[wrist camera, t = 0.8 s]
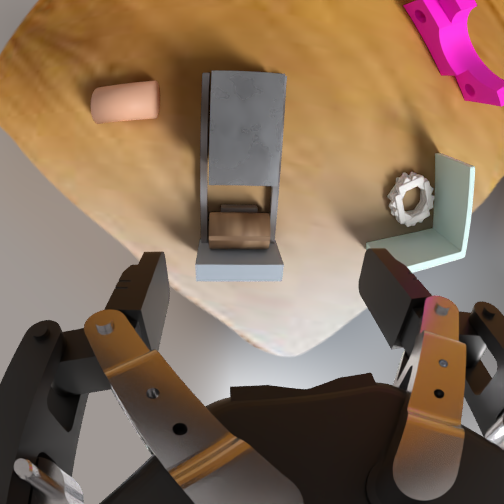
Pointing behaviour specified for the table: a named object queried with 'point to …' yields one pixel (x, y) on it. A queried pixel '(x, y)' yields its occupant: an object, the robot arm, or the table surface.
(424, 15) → the magenta curved bracket
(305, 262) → the table surface
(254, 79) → the slab
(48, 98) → the table surface
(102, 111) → the roller
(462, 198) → the l-shaped corner panel
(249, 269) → the stop gate
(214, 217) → the roller bed
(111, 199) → the table surface
